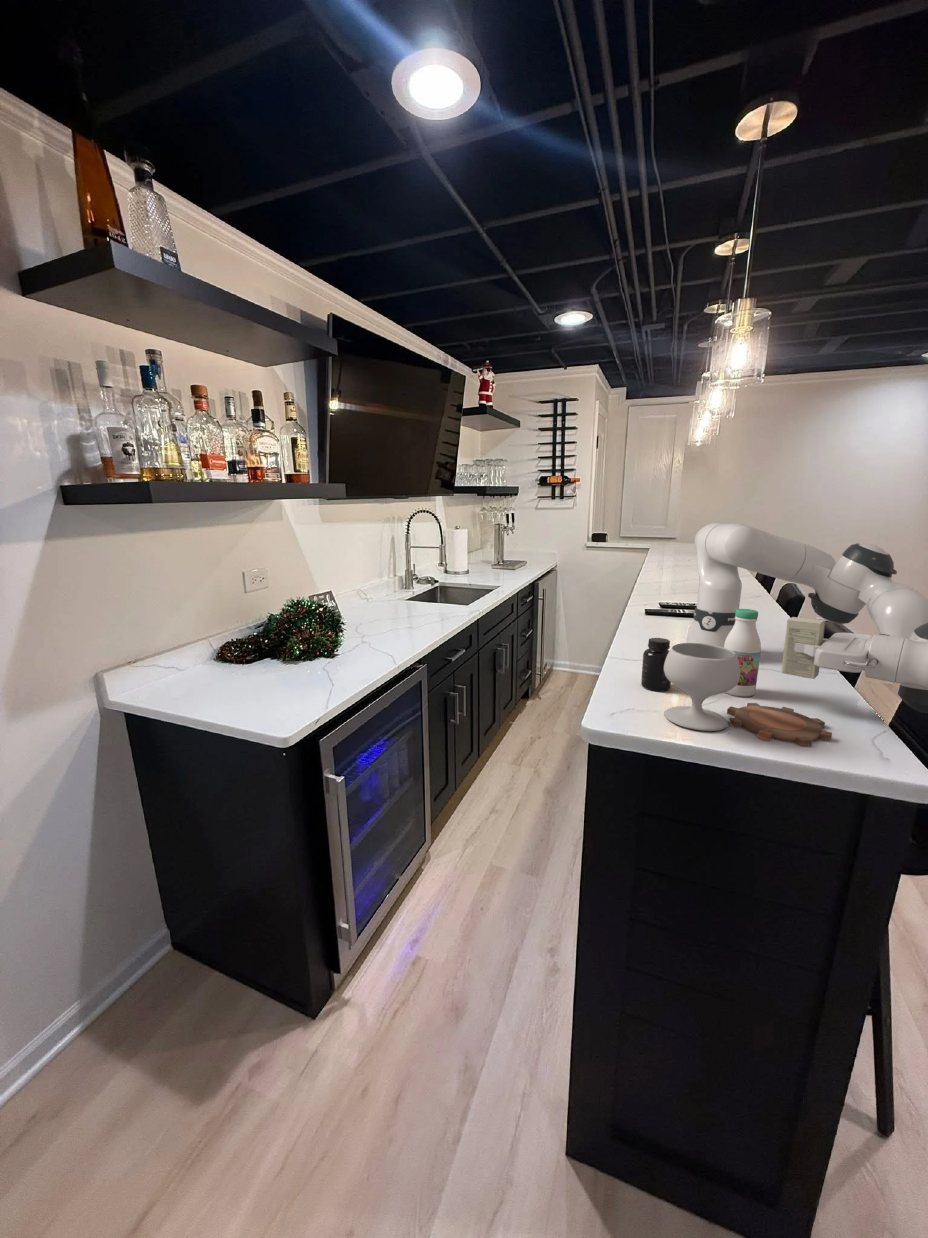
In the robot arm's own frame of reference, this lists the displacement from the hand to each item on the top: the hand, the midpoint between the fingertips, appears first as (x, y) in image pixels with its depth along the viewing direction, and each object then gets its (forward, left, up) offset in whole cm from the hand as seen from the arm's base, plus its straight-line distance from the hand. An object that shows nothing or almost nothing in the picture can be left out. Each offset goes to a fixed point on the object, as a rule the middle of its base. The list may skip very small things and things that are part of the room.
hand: (798, 643), depth 107 cm
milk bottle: (-1, -11, -15) cm, 18 cm away
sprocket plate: (+14, +1, -14) cm, 20 cm away
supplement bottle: (+10, -26, -15) cm, 31 cm away
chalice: (+23, -12, -15) cm, 29 cm away
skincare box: (0, +1, -7) cm, 7 cm away
